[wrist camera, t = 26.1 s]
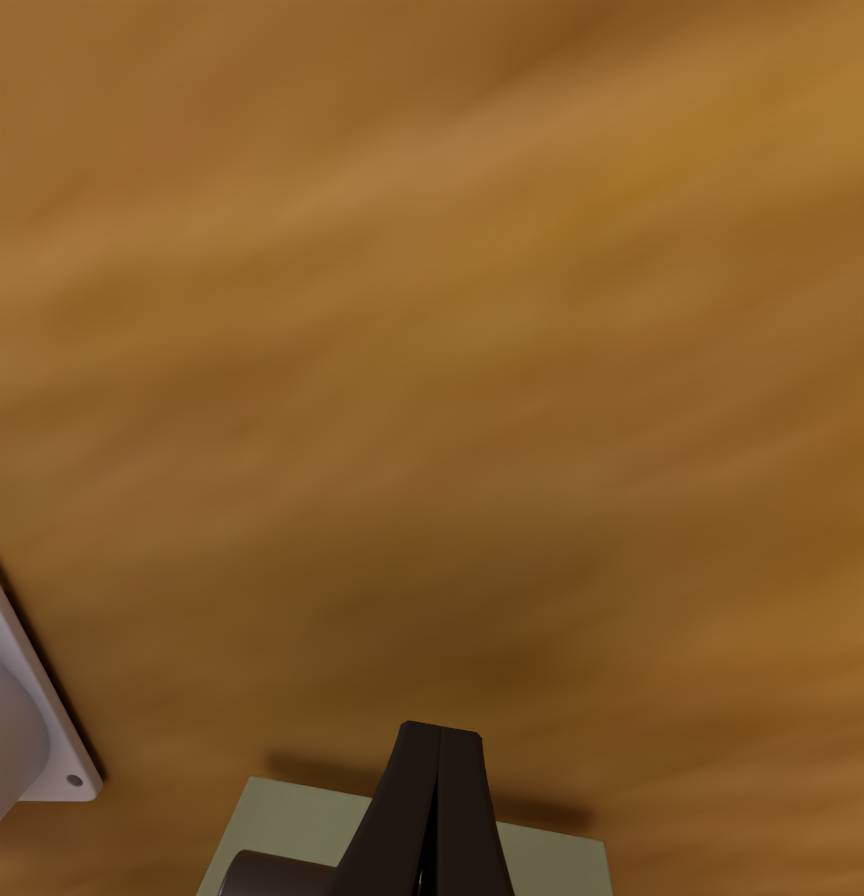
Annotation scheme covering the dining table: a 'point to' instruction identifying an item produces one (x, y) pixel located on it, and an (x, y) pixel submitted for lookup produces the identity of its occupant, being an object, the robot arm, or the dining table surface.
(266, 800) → the drawer
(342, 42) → the dining table surface
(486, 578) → the dining table surface
